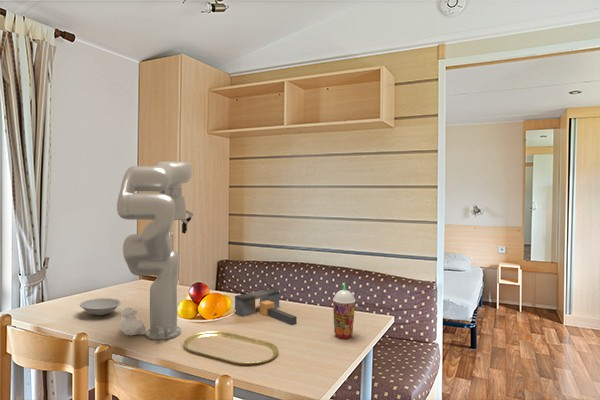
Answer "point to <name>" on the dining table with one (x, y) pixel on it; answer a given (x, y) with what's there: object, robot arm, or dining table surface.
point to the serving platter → (233, 336)
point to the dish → (100, 305)
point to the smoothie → (343, 313)
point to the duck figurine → (131, 323)
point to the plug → (276, 313)
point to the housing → (247, 301)
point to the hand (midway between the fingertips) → (172, 233)
